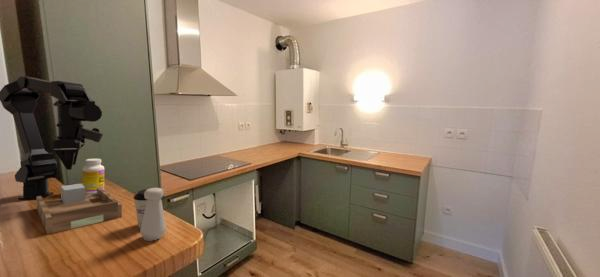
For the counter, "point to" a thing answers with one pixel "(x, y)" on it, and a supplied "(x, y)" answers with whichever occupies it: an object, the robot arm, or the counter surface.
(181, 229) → the counter surface
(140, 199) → the coffee cup
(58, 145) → the robot arm
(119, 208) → the wooden tray
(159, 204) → the salt shaker
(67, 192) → the block
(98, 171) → the supplement bottle
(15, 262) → the counter surface
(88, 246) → the counter surface
